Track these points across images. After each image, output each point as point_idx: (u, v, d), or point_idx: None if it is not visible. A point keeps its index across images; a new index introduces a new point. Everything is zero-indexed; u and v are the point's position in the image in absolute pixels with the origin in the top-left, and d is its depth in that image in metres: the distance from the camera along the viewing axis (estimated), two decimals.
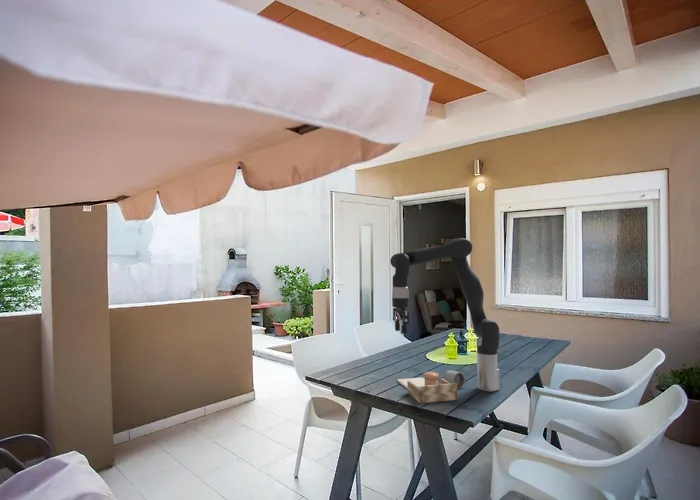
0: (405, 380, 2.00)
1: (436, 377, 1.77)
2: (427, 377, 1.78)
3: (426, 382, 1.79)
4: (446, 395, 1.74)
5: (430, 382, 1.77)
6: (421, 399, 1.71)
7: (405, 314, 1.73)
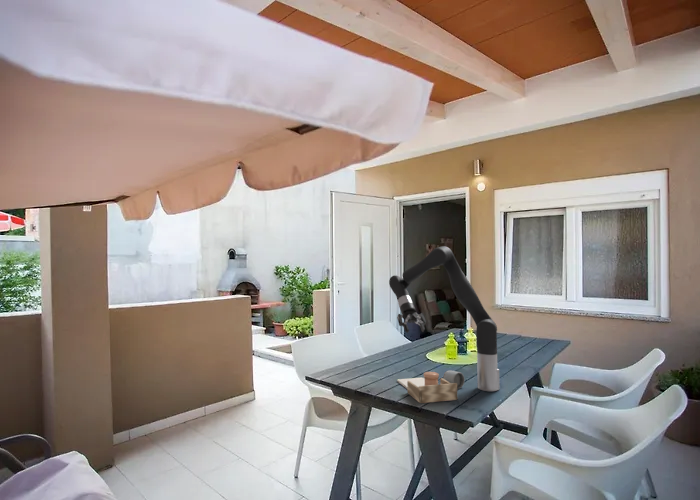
0: (405, 380, 2.00)
1: (436, 377, 1.77)
2: (427, 377, 1.78)
3: (426, 382, 1.79)
4: (446, 395, 1.74)
5: (430, 382, 1.77)
6: (421, 399, 1.71)
7: (398, 317, 2.02)
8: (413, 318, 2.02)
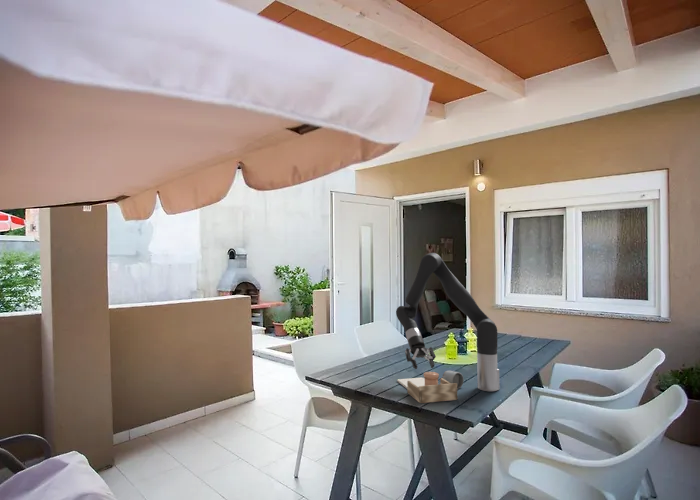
0: (405, 380, 2.00)
1: (436, 377, 1.77)
2: (427, 377, 1.78)
3: (426, 382, 1.79)
4: (446, 395, 1.74)
5: (430, 382, 1.77)
6: (421, 399, 1.71)
7: (405, 352, 1.92)
8: (422, 353, 1.91)
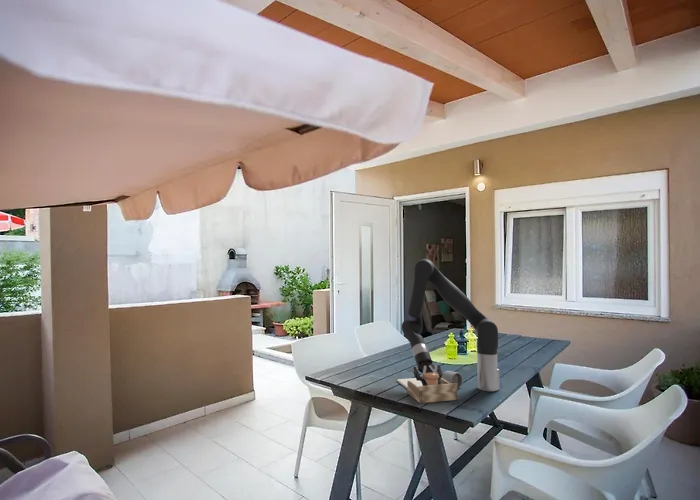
0: (405, 380, 2.00)
1: (436, 377, 1.77)
2: (427, 377, 1.78)
3: (426, 382, 1.79)
4: (446, 395, 1.74)
5: (430, 382, 1.77)
6: (421, 399, 1.71)
7: (413, 371, 1.83)
8: (429, 370, 1.83)
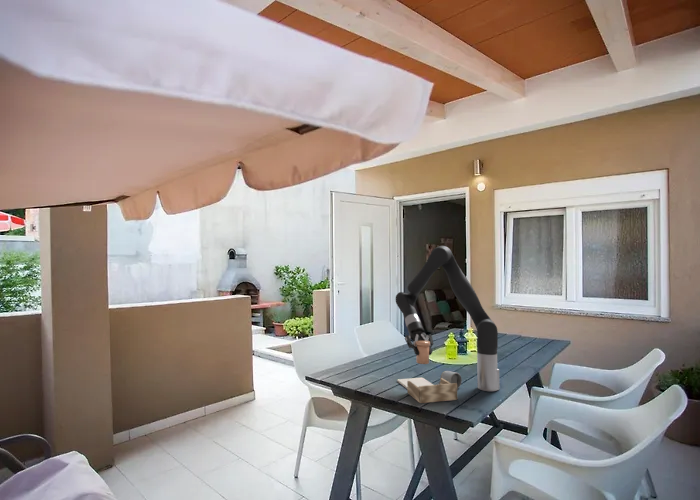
0: (405, 380, 2.00)
1: (427, 344, 1.86)
2: (419, 344, 1.86)
3: (418, 349, 1.87)
4: (446, 395, 1.74)
5: (422, 349, 1.85)
6: (421, 399, 1.71)
7: (406, 339, 1.91)
8: (420, 338, 1.92)
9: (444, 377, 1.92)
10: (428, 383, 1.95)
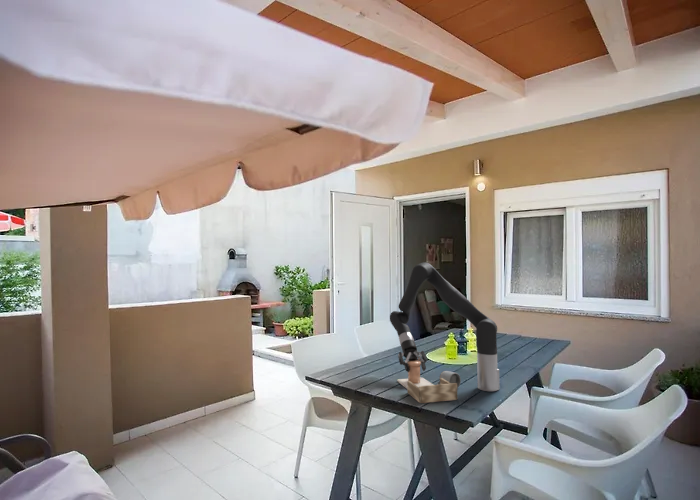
0: (405, 380, 2.00)
1: (418, 364, 1.95)
2: (410, 364, 1.96)
3: None
4: (446, 395, 1.74)
5: (413, 369, 1.95)
6: (421, 399, 1.71)
7: (398, 356, 2.01)
8: (414, 356, 2.00)
9: (443, 377, 1.92)
10: (428, 383, 1.95)
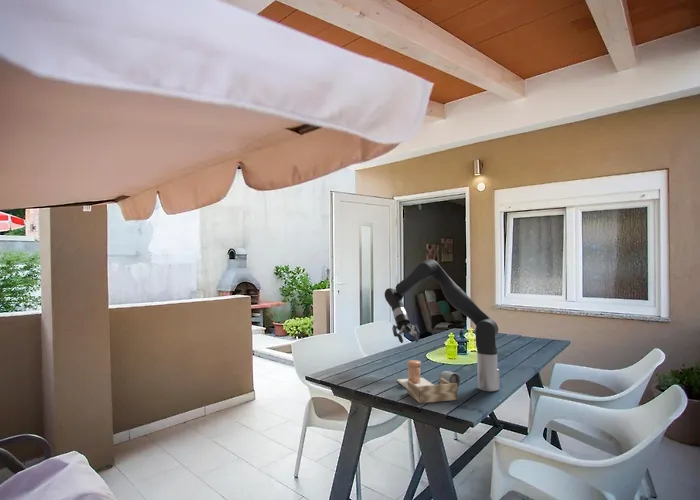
0: (405, 380, 2.00)
1: (418, 364, 1.95)
2: (410, 364, 1.96)
3: (409, 369, 1.97)
4: (446, 395, 1.74)
5: (413, 369, 1.95)
6: (421, 399, 1.71)
7: (393, 329, 2.12)
8: (407, 329, 2.12)
9: (443, 377, 1.92)
10: (428, 383, 1.95)
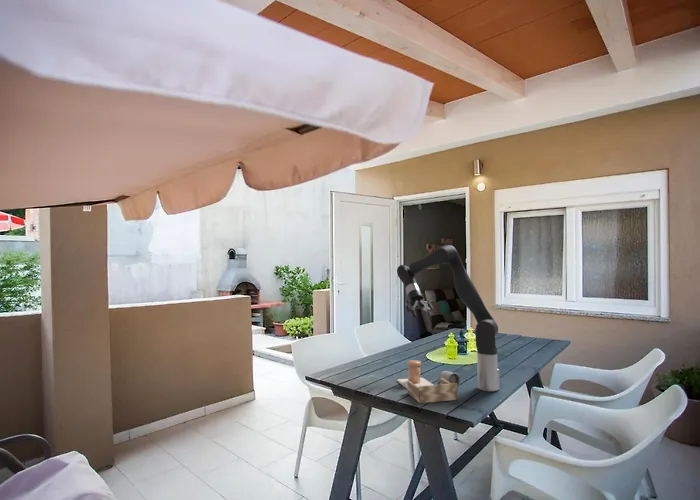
0: (405, 380, 2.00)
1: (418, 364, 1.95)
2: (410, 364, 1.96)
3: (409, 369, 1.97)
4: (446, 395, 1.74)
5: (413, 369, 1.95)
6: (421, 399, 1.71)
7: (406, 304, 2.10)
8: (420, 304, 2.10)
9: (442, 377, 1.92)
10: (428, 383, 1.95)
